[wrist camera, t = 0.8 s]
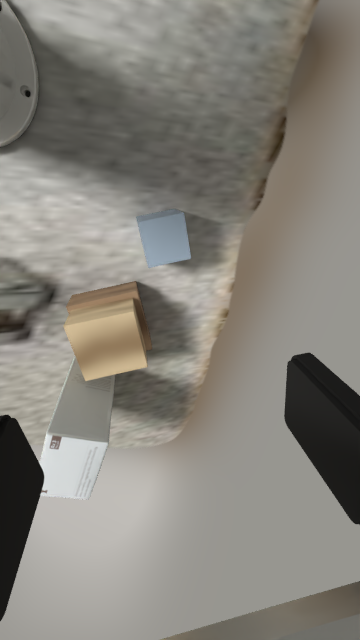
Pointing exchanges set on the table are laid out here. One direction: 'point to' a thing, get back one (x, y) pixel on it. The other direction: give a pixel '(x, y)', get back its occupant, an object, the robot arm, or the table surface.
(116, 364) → the oak slab
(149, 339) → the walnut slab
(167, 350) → the table surface
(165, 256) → the blue block
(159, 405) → the table surface
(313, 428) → the robot arm
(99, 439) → the skincare box
